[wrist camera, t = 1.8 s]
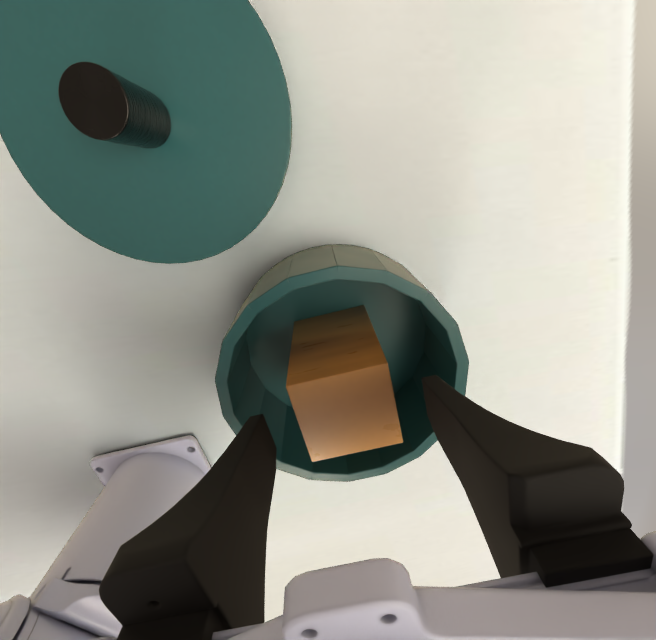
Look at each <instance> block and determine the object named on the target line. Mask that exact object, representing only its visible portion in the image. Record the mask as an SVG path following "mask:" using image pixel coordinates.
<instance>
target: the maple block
mask: <svg viewBox="0 0 656 640" xmlns="http://www.w3.org/2000/svg"><path fill="white" fill-rule="evenodd" d="M286 389H287V392H288V395H289V398H290V401H291V404H292V406H293V409H294V412H295V415H296V418H297V421H298V424H299V426H300V429H301V432H302V435H303V438H304V441H305V444H306V447H307V449H308V452H309V455H310V458H311V461H312V462H315V461H320V460H324V459H329V458H334V457H338V456H343V455H347V454H352V453H357V452H361V451H366V450H371V449H375V448H380V447H384V446H389V445H394V444H398V443H403V438H402V433H401V427H400V422H399V417H398V412H397V407H396V402H395V397H394V392H393V387H392V382H391V377H390V372H389V367H388V363H387V360H386V358H385V355H384V353H383V350H382V348H381V345H380V343H379V340H378V338H377V335H376V333H375V330H374V328H373V325H372V323H371V321H370V318H369V316H368V313H367V311H366V308H365V306H364V305H361V306H357V307H353V308H349V309H345V310H341V311H336V312H332V313H328V314H324V315H320V316H316V317H312V318H307V319H303V320H299V321H295V322H294V328H293V335H292V343H291V351H290V358H289V366H288V373H287V381H286Z"/></svg>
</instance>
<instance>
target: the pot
mask: <svg viewBox="0 0 656 640" xmlns="http://www.w3.org/2000/svg"><path fill="white" fill-rule="evenodd" d="M361 305H364V306H365V308H366V311H367V313H368V316H369V318H370V321H371V323H372V325H373V328H374V330H375V333H376V335H377V338H378V340H379V343H380V345H381V348H382V350H383V353H384V355H385V358H386V360H387V363H388V367H389V372H390V377H391V382H392V387H393V392H394V397H395V402H396V407H397V412H398V417H399V422H400V427H401V433H402V438H403V443H398V444H394V445H389V446H384V447H380V448H375V449H371V450H366V451H361V452H357V453H352V454H347V455H343V456H338V457H334V458H329V459H324V460H320V461H315V462H312V461H311V458H310V455H309V452H308V449H307V447H306V444H305V441H304V438H303V435H302V432H301V429H300V426H299V424H298V421H297V418H296V415H295V412H294V409H293V406H292V404H291V401H290V398H289V395H288V392H287V389H286V381H287V373H288V366H289V358H290V351H291V343H292V335H293V328H294V322H295V321H299V320H303V319H307V318H312V317H316V316H320V315H324V314H328V313H332V312H336V311H341V310H345V309H349V308H353V307H357V306H361ZM468 366H469V361H468V356H467V353H466V350H465V346H464V343H463V340H462V337H461V333H460V330H459V327H458V324H457V322H456V321H455V320H454V319H453V318H452V317H451V315H450V314H449V313H448V312H447V311H446V310H445V308H444V307H443V306H442V305H441V304H440V303H439V302H438V300H437V299H436V298H435V297H434V296H433V295H432V294H431V292H430V291H429V290H427V289H426V288H425V287H424V286H423V285H422V284H421V283H420V282H419V281H418V280H417V279H416V278H415V277H414V276H413V275H412V274H411V273H410V272H409V271H408V270H407V269H406V268H405V267H404V266H402V265H401V264H399V263H397V262H395V261H394V260H392V259H390V258H389V257H387V256H385V255H383V254H381V253H379V252H376V251H373V250H371V249H369V248H363V247H359V246H354V245H342V244H336V245H323V246H318V247H312V248H309V249H306V250H303V251H300V252H298V253H295V254H293V255H291V256H289V257H287V258H285V259H284V260H282V261H281V262H279V263H278V264H276V265H275V266H274V267H273V268H271V269H270V270H269V271H268V272H267V273H265V274H264V275H263V276H262V277H261V278H260V280H259V281H258V283H257V284H256V285H255V287H254V288H253V290H252V291H251V293H250V294H249V296H248V297H247V299H246V300H245V302H244V303H243V305H242V307H241V309H240V310H239V312H238V314H237V316H236V318H235V319H234V321H233V323H232V325H231V326H230V328H229V330H228V332H227V334H226V335H225V337H224V339H223V341H222V345H221V350H220V355H219V361H218V366H217V371H216V376H215V383H216V387H217V392H218V396H219V401H220V405H221V409H222V414H223V416H224V419H225V420H226V421H227V423H228V424H229V426H230V427H231V429H232V430H233V431H234V433H235V434H236V435H237V434H238V433H239V431H240V430H241V428H242V427H243V425H244V424H245V423H246V421H247V420H248V419H249V417H250V416H255V415H259V414H263V415H264V417H265V420H266V422H267V425H268V427H269V430H270V433H271V435H272V438H273V440H274V443H275V445H276V448H277V454H276V469H279V470H282V471H285V472H288V473H291V474H294V475H297V476H300V477H303V478H306V479H309V480H310V479H311V480H323V481H343V482H348V481H354V480H359V479H364V478H369V477H373V476H378V475H383V474H385V473H389V472H391V471H393V470H394V469H396V468H398V467H400V466H402V465H404V464H406V463H408V462H410V461H412V460H414V459H416V458H418V457H419V456H421V455H422V454H423V453H424V452H425V451H427V450H428V449H429V448H430V447H431V446H432V445H433V444H434V443H435V442H436V441H437V440H438V439H437V437H436V435H435V433H434V430H433V428H432V426H431V423H430V420H429V418H428V415H427V410H426V403H425V397H424V391H423V384H422V378H423V377H428V376H432V375H437V376H438V377H439V378H441V379H442V380H443V381H445V382H446V383H447V384H448V385H450V386H451V387H452V388H454V389H455V390H457V391H458V392H459V393H461V394H462V395H464V396H465V392H466V383H467V375H468Z"/></svg>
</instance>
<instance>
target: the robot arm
mask: <svg viewBox="0 0 656 640" xmlns="http://www.w3.org/2000/svg"><path fill="white" fill-rule="evenodd" d="M422 384H423V391H424V397H425V403H426V410H427V415H428V418H429V420H430V423H431V426H432V428H433V430H434V433H435V435H436V437H437V439H438V441H439V443H440V445H441V446H442V448H443V450H444V452H445V454H446V456H447V457H448V459H449V461H450V463H451V465H452V467H453V468H454V470H455V472H456V474H457V476H458V477H459V479H460V481H461V483H462V485H463V487H464V489H465V492H466V494H467V496H468V499H469V501H470V503H471V506H472V508H473V510H474V513H475V515H476V517H477V520H478V522H479V525H480V527H481V529H482V532H483V534H484V537H485V539H486V542H487V544H488V547H489V549H490V552H491V554H492V557H493V559H494V562H495V564H496V567H497V569H498V572H499V574H500V577H501V578H500V579H495V580H490V581H484V582H479V583H474V584H468V585H463V586H458V587H424V586H412V584H411V580H410V575H409V572H408V571H407V570H406V568H405V567H404V566H403V564H401V563H399V562H396V561H394V560H391V559H388V558H382V559H369V560H364V561H359V562H354V563H349V564H344V565H339V566H334V567H329V568H323V569H318V570H313V571H308V572H305V573H303V574H300V575H298V576H295V577H294V578H293V579H292V580H291V581H290V582H289V583H288V585H287V586H286V587H285V596H284V610H283V615H281V616H279V617H276V618H274V619H272V620H270V621H267V622H265V623H264V597H265V560H266V541H267V527H268V518H269V512H270V506H271V499H272V493H273V487H274V480H275V474H276V454H277V448H276V445H275V443H274V440H273V438H272V435H271V433H270V430H269V427H268V425H267V422H266V420H265V417H264V415H263V414H259V415H255V416H250V417H249V419H248V420H247V421H246V423H245V424H244V425H243V427H242V428H241V430H240V431H239V433H238V434H237V435H236V437H235V438H234V440H233V441H232V442H231V444H230V445H229V446H228V448H227V449H226V450H225V452H224V453H223V454H222V455H221V457H220V458H219V459H218V460H217V462H216V463H215V464H214V465H213V467H212V468H211V467H210V465H209V463H208V461H207V459H206V457H205V455H204V453H203V451H202V449H201V447H200V445H199V443H198V441H197V439H196V438H195V437H193V436H190V435H189V436H183V437H179V438H174V439H170V440H166V441H161V442H157V443H152V444H148V445H143V446H139V447H134V448H130V449H126V450H121V451H117V452H112V453H108V454H103V455H99V456H95V457H93V458H92V459H91V461H90V462H89V465H90V467H91V468H92V469H93V471H94V472H95V474H96V475H97V477H98V478H99V479H100V481H101V482H102V484H103V485H104V486H105V487H104V489H103V490H102V492H101V493H100V494H99V496H98V497H97V499H96V500H95V502H94V503H93V505H92V506H91V508H90V509H89V511H88V512H87V514H86V515H85V517H84V518H83V520H82V521H81V523H80V524H79V526H78V527H77V528H76V530H75V531H74V533H73V534H72V536H71V537H70V539H69V540H68V542H67V543H66V545H65V546H64V548H63V549H62V551H61V552H60V554H59V555H58V557H57V558H56V559H55V561H54V562H53V564H52V565H51V567H50V568H49V570H48V571H47V573H46V574H45V576H44V577H43V579H42V580H41V582H40V583H39V585H38V586H37V588H36V589H35V591H34V592H33V593H32V595H31V596H30V597H29V598H27V597H25V596H23V595H16V596H14V597H12V598H11V599H9V600H8V601H5V602H3V603H0V640H656V531H654V532H651V533H648V534H646V535H644V536H643V537H642V538H641V540H640V539H639V538H638V537H637V536H636V535H635V533H634V532H633V531H632V530H631V529H630V528H631V526H632V524H631V522H630V521H629V519H628V518H627V517H626V516H625V515H624V514H623V513H622V512H621V506H622V499H623V493H624V481H623V479H622V477H621V475H620V473H618V472H617V471H616V470H615V469H614V468H613V467H612V466H611V465H610V464H609V463H608V462H607V461H606V460H605V459H604V458H603V457H602V456H600V455H599V454H598V453H597V452H596V451H594V450H593V449H592V448H590V447H586V446H582V445H578V444H574V443H570V442H566V441H562V440H558V439H555V438H552V437H549V436H546V435H543V434H540V433H537V432H534V431H531V430H529V429H526V428H524V427H521V426H519V425H516V424H514V423H512V422H509V421H507V420H505V419H503V418H501V417H499V416H497V415H495V414H493V413H491V412H489V411H487V410H486V409H484V408H482V407H481V406H479V405H477V404H476V403H474V402H473V401H471V400H470V399H468V398H467V397H465V396H464V395H462V394H461V393H459V392H458V391H457V390H455V389H454V388H452V387H451V386H450V385H448V384H447V383H446V382H445V381H443V380H442V379H441V378H439V377H438V376H437V375H432V376H428V377H423V378H422ZM190 447H193V448H190Z"/></svg>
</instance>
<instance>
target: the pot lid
mask: <svg viewBox="0 0 656 640" xmlns="http://www.w3.org/2000/svg"><path fill="white" fill-rule="evenodd" d="M0 134H1V136H2V139H3V141H4V143H5V145H6V147H7V149H8V151H9V153H10V155H11V157H12V159H13V160H14V162H15V163H16V165H17V167H18V168H19V170H20V172H21V173H22V175H23V176H24V178H25V179H26V180H27V182H28V183H29V184H30V186H31V187H32V188H33V190H34V191H35V192H36V193H37V195H38V196H39V197H40V198H41V199H42V200H43V201H44V202H45V203H46V204H47V206H48V207H49V208H50V209H51V210H52V211H53V212H54V213H56V214H57V215H58V216H59V217H60V218H61V219H62V220H63V221H65V222H66V223H67V224H68V225H69V226H71V227H72V228H74V229H75V230H76V231H78V232H79V233H81V234H82V235H83V236H85V237H87V238H88V239H90V240H92V241H93V242H95V243H97V244H99V245H100V246H103V247H105V248H107V249H109V250H111V251H114V252H116V253H118V254H121V255H125V256H128V257H131V258H134V259H138V260H143V261H148V262H154V263H167V264H171V263H187V262H193V261H198V260H202V259H205V258H209V257H212V256H215V255H217V254H219V253H221V252H223V251H225V250H227V249H229V248H231V247H233V246H234V245H235V244H237V243H238V242H240V241H241V240H243V239H244V238H245V237H246V236H247V235H249V234H250V233H251V232H252V231H253V230H254V229H255V228H256V227H257V226H258V225H259V224H260V222H261V221H262V220H263V219H264V217H265V216H266V215H267V214H268V212H269V210H270V209H271V207H272V205H273V204H274V202H275V200H276V198H277V196H278V194H279V192H280V189H281V187H282V185H283V182H284V178H285V175H286V172H287V168H288V164H289V158H290V152H291V142H292V117H291V104H290V99H289V94H288V88H287V83H286V79H285V76H284V73H283V70H282V66H281V63H280V60H279V57H278V54H277V52H276V50H275V47H274V45H273V43H272V40H271V38H270V36H269V34H268V32H267V30H266V28H265V27H264V25H263V23H262V21H261V19H260V18H259V16H258V14H257V12H256V11H255V10H254V8H253V7H252V5H251V4H250V3H249V1H248V0H0Z"/></svg>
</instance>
